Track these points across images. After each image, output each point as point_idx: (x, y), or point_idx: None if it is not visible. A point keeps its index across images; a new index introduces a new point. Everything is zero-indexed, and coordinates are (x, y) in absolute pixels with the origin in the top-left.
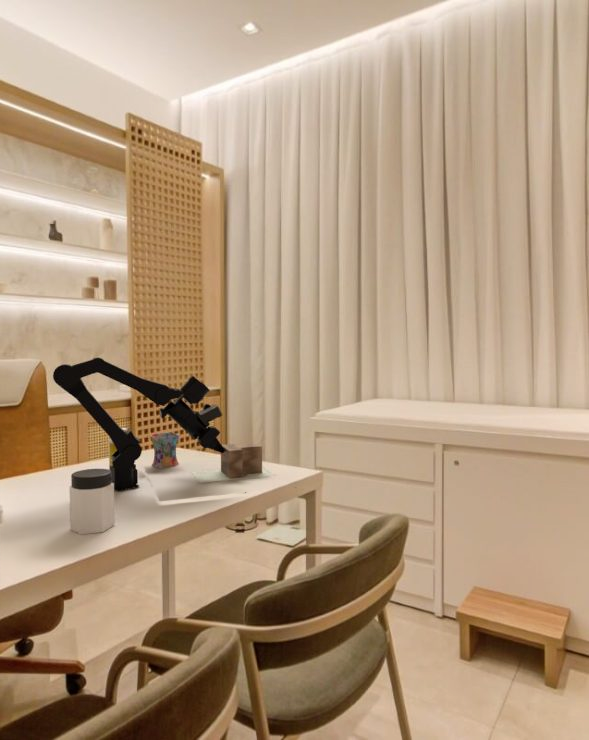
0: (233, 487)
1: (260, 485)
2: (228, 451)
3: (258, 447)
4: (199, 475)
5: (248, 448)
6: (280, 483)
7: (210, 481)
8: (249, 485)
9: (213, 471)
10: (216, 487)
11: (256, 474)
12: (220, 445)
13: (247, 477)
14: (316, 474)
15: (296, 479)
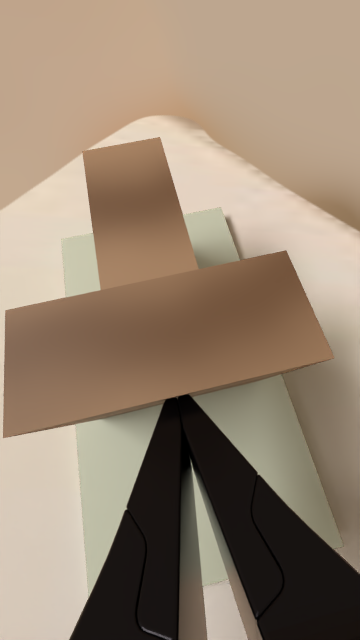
0: (343, 366)
1: (310, 268)
2: (312, 363)
3: (165, 161)
4: None
5: (180, 216)
6: (283, 209)
7: (316, 479)
8: (310, 304)
9: (101, 461)
10: (348, 442)
11: (200, 267)
12: (233, 450)
13: None
14: (181, 118)
15: (235, 166)
